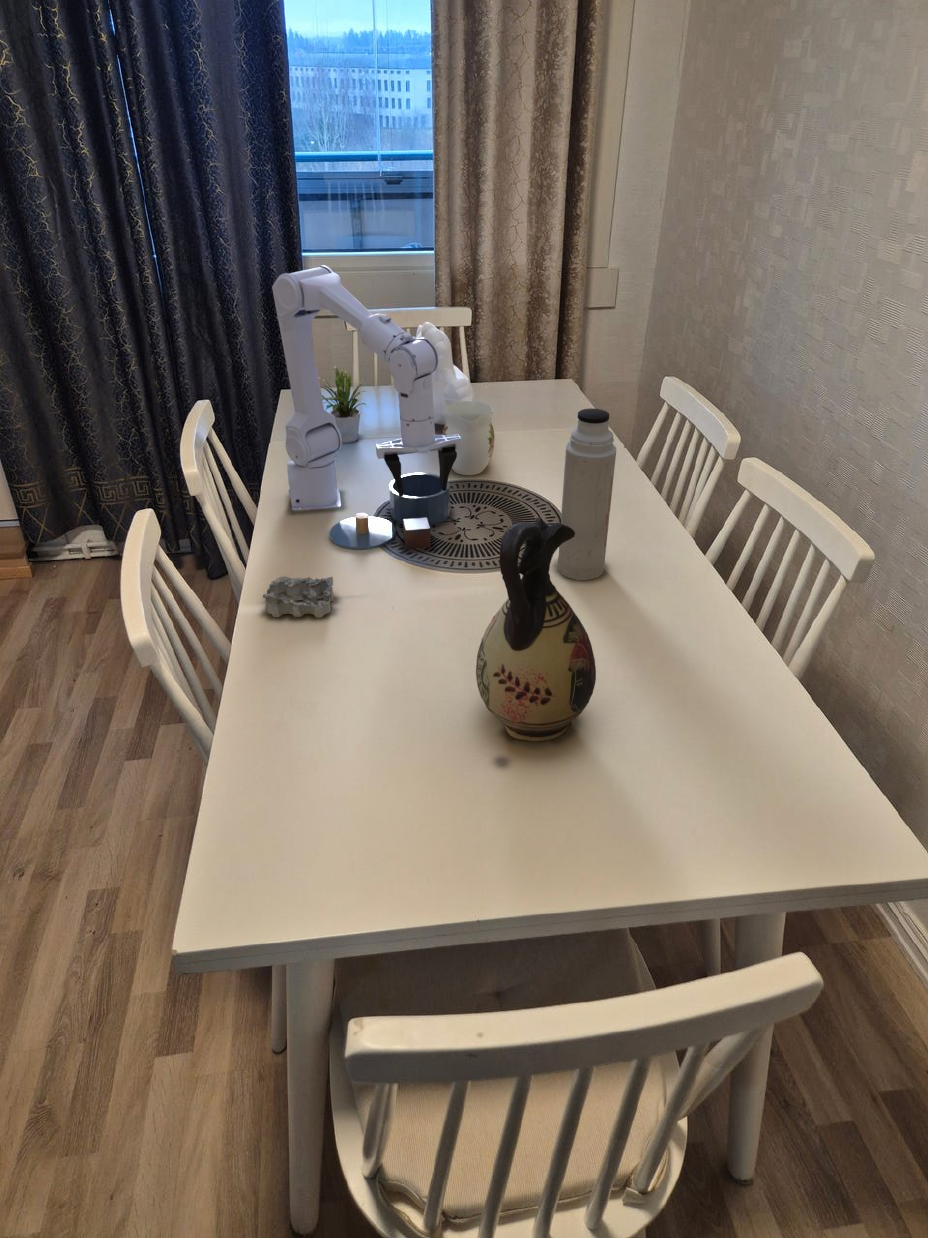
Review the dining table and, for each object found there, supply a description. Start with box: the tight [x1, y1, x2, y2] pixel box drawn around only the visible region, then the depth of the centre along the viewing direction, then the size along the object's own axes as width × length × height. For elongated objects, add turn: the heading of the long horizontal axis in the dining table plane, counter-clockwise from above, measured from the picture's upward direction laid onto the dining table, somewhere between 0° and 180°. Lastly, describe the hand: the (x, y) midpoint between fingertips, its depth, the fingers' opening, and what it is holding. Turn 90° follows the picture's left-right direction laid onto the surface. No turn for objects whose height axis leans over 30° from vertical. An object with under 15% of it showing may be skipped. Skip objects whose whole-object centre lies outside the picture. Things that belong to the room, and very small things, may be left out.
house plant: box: [318, 365, 368, 444], centre depth 192 cm, size 14×14×16 cm
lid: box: [329, 512, 397, 551], centre depth 155 cm, size 12×12×4 cm
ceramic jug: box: [475, 516, 597, 762], centre depth 104 cm, size 17×15×30 cm
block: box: [402, 517, 432, 550], centre depth 152 cm, size 4×4×4 cm
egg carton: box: [262, 575, 335, 618], centre depth 135 cm, size 11×8×4 cm
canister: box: [388, 472, 451, 526], centre depth 162 cm, size 11×11×6 cm
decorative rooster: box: [415, 321, 475, 426], centre depth 195 cm, size 25×16×25 cm
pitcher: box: [442, 401, 495, 476], centre depth 178 cm, size 11×18×14 cm, turn 2°
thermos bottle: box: [557, 407, 617, 581], centre depth 138 cm, size 8×8×28 cm
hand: (422, 491), depth 148 cm, fingers open, 7 cm apart
